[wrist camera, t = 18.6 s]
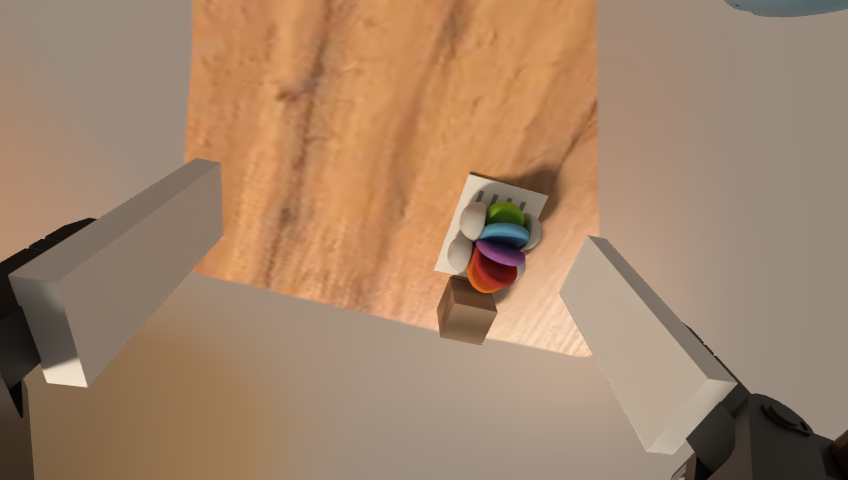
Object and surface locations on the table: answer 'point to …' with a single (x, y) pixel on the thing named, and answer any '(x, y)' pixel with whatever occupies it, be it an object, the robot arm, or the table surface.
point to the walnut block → (465, 312)
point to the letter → (489, 195)
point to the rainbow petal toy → (493, 244)
